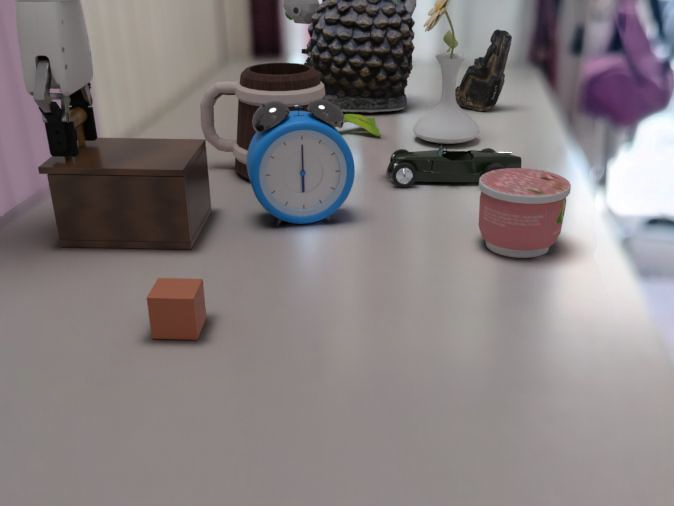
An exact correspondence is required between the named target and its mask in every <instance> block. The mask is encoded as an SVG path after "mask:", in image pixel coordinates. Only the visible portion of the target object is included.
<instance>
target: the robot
mask: <svg viewBox="0 0 674 506" xmlns="http://www.w3.org/2000/svg"><path fill="white" fill-rule="evenodd" d="M319 4H320V2H319V0H283V3H282V7H283V9H284V11H285V12H284V15H285V17H286V18H287V19H288V20H289V21H293V23H294V24H300V25H301V24H302V25H311V24H312V19H311V17H312V16H313V15H314V11H315V10H316V9H317V8H318V5H319ZM301 54H303V55H306V56H307V57H306V59H305V61H304V63H303V64H305V65H308V66H311V67H313V66H312V65H311V63H310V60H311V53H310V51H309V50H308V49H307V48H301Z"/></svg>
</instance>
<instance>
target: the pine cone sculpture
mask: <svg viewBox="0 0 674 506" xmlns="http://www.w3.org/2000/svg"><path fill="white" fill-rule="evenodd" d="M416 8H417V0H322V1H321V3H319V5H318V8H317V9H316V10H315V11H314V15H313V16H312V17H311V19H312V23H311V24H308V27H307V33H308V35H309V37H310V38H309V40H308V42H307V44H306V49H308V50H309V51H310V53H311V60H310V63H311V65H312V66H313V68H314V69H315V70H316V71H318V72H319V78H320V81H321V82H322V83H323V84H324V88H325V96H324V97H323V99H326V100H329V101H332V100H334V104H336V105H337V106H339V108H340V109H341V110H342V112H343V113H349V112H350V113H359V112H360V113H378V112H382V113H383V112H392V111H393V112H395V111H400V110H405V108H406V106H407V103H408V98H407V95H406V93H405V92H406V91H405V90H406V88H407V86H408V79H409V78H410V75H411V74H412V71H413V68H414V67H413V52H414V50H415V48H416V47H415V45H414V43H413V41H414V39H415V31H414V30H413V28H414V26H415V24H416V22H415V20H414V19H413V14H414V12H415V10H416Z"/></svg>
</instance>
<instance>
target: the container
mask: <svg viewBox="0 0 674 506" xmlns="http://www.w3.org/2000/svg"><path fill="white" fill-rule="evenodd" d="M478 188H479V191H480V195H479V207H478V228H479V231H480V234H481V238H482V239H483V240H484V241H485V247H486V248H487V249H488V250H490V251H491V252H492V253H495V254H498V255H501V256H504V257H510V258H518V259H528V258H536V257H541V256H543V255H545V254H547V253H548V252H549V250H550V247H552V246H553V245H554V244H555V243H556V241H557V239H558V238H559V236H560V234H561V232H562V228H563V223H564V217H565V211H566V207H567V197H568V196H569V195H570V194H571V190H572V189H571V188H572V184H571V182H570V181H569V180H568V179H567V178H565V177H564V176H562V175H560V174H557V173H554V172H550V171H547V170H542V169H536V168H525V167H521V168H506V169H498V170H493V171H490V172H487V173H485V174H483V175H482V176H481V177H480V179H479V182H478Z"/></svg>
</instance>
